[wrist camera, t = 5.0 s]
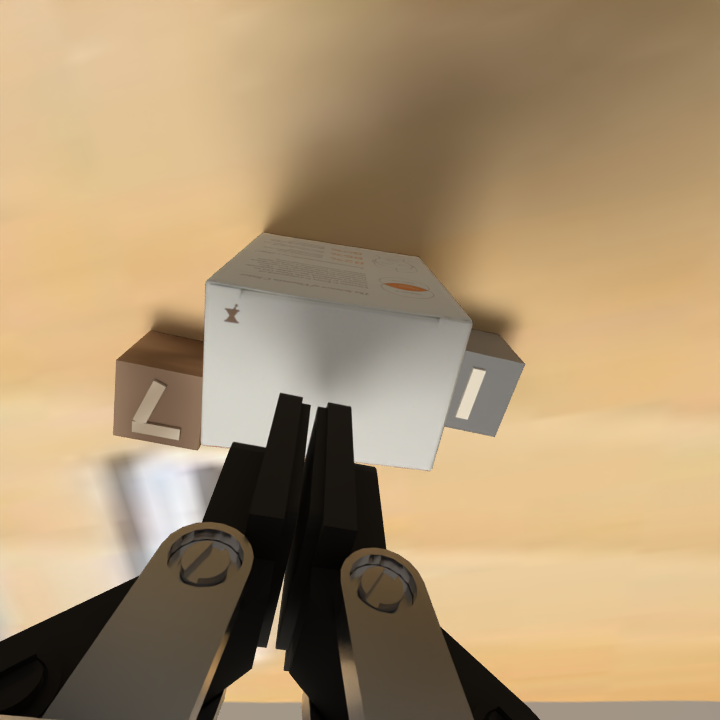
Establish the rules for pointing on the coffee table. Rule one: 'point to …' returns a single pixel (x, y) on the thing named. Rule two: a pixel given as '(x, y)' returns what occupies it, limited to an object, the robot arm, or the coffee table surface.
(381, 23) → the coffee table surface
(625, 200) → the coffee table surface
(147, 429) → the digit seven block
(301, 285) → the small box
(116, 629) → the robot arm
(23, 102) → the coffee table surface
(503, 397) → the digit one block
